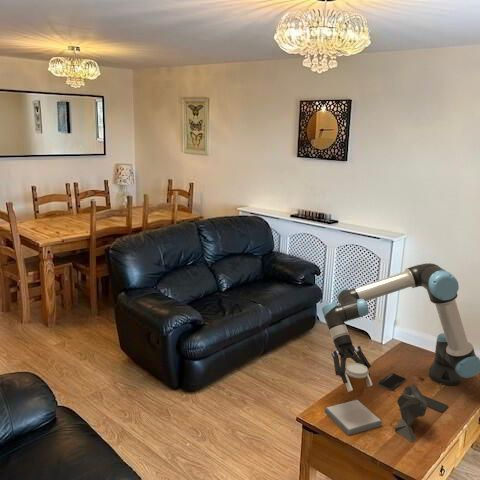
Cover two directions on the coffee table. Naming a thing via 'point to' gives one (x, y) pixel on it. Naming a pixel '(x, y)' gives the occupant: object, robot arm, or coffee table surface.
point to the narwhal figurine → (410, 411)
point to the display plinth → (353, 417)
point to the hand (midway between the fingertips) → (360, 388)
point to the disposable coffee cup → (356, 378)
